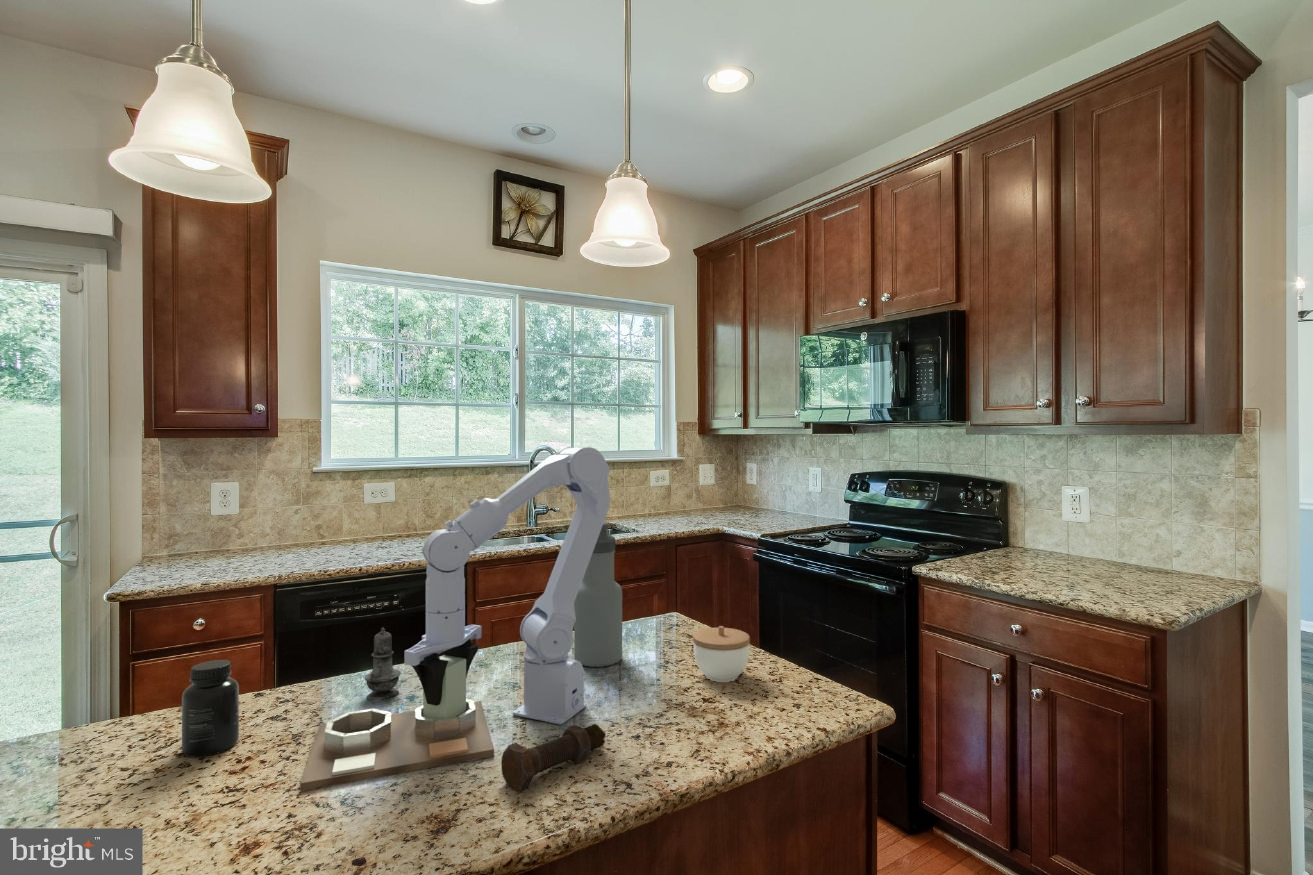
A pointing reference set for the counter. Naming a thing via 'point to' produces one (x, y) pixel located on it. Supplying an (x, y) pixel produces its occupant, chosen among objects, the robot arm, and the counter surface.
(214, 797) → the counter surface
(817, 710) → the counter surface
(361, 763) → the tags
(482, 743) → the walnut board
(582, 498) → the robot arm
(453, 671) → the sage plug
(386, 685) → the salt shaker
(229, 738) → the supplement bottle
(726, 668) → the lidded jar
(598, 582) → the water bottle
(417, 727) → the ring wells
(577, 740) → the bolt
